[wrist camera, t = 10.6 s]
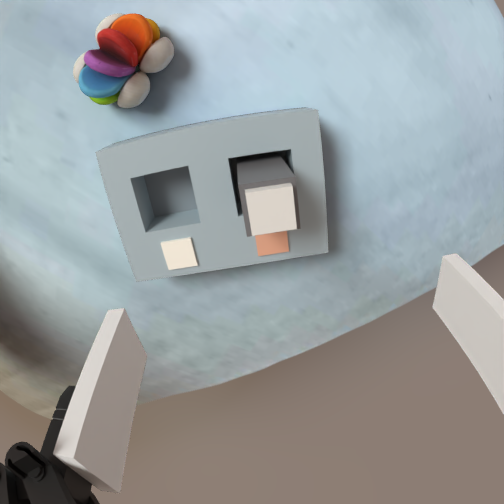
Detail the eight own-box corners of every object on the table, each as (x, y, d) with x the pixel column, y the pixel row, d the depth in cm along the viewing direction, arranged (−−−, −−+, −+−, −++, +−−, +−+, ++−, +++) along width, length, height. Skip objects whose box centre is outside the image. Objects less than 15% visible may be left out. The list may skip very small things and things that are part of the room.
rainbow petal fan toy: (188, 41, 25) (176, 27, 19) (135, 119, 29) (109, 127, 22) (124, 8, 23) (97, -10, 16) (75, 84, 26) (39, 85, 20)
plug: (242, 194, 32) (247, 241, 23) (236, 157, 30) (238, 188, 21) (281, 189, 32) (302, 233, 23) (276, 151, 30) (297, 179, 21)
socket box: (146, 258, 36) (135, 283, 31) (114, 143, 29) (94, 152, 25) (316, 231, 36) (329, 254, 31) (305, 107, 29) (318, 110, 24)
